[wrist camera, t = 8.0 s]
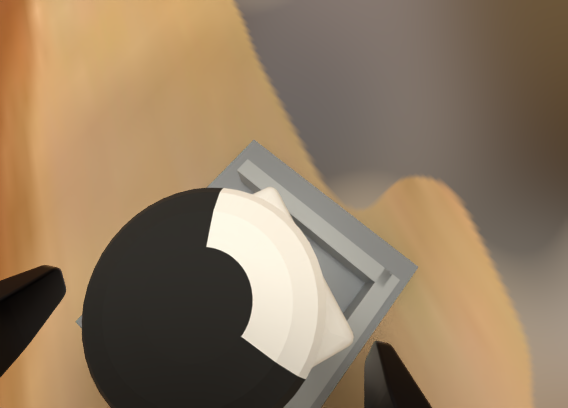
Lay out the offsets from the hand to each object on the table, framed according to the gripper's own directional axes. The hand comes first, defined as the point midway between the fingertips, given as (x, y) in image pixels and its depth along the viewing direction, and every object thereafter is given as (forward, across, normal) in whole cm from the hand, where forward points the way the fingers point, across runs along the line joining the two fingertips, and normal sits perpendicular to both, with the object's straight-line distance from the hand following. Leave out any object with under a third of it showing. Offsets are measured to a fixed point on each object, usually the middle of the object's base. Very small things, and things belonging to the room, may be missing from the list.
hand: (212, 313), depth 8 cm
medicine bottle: (+8, 0, +7) cm, 10 cm away
